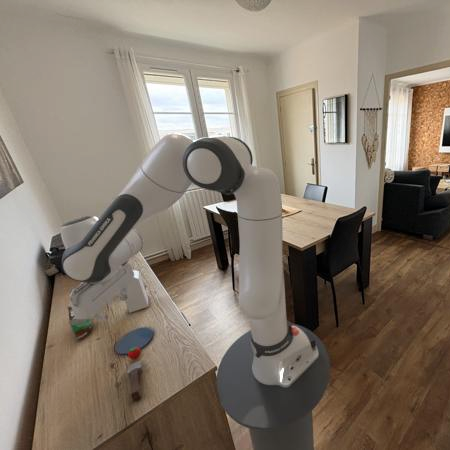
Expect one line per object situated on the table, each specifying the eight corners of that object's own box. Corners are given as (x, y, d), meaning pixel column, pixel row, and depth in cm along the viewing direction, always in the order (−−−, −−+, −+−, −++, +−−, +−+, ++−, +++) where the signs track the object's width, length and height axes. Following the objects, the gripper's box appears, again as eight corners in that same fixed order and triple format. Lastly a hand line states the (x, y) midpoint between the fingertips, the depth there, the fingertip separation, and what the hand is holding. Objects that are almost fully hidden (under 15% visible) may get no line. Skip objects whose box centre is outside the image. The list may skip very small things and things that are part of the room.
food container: (99, 333, 94) (89, 313, 90) (78, 342, 90) (68, 322, 87) (95, 317, 102) (86, 298, 99) (76, 325, 99) (67, 306, 95)
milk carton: (148, 298, 113) (136, 263, 106) (148, 306, 107) (135, 270, 100) (130, 304, 110) (116, 268, 103) (129, 313, 104) (115, 276, 97)
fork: (144, 395, 70) (141, 388, 69) (130, 403, 68) (126, 396, 67) (142, 362, 81) (139, 356, 80) (129, 368, 79) (127, 361, 78)
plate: (152, 324, 97) (151, 322, 97) (154, 343, 88) (154, 342, 88) (116, 338, 91) (116, 337, 91) (115, 360, 82) (114, 359, 82)
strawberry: (141, 350, 85) (138, 342, 84) (142, 357, 83) (139, 350, 81) (129, 356, 84) (126, 348, 82) (129, 363, 81) (126, 355, 79)
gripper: (80, 292, 59) (100, 335, 65) (131, 253, 79) (143, 288, 84) (54, 294, 59) (76, 336, 64) (111, 255, 78) (125, 289, 83)
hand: (114, 309), depth 74 cm, fingers open, 8 cm apart
